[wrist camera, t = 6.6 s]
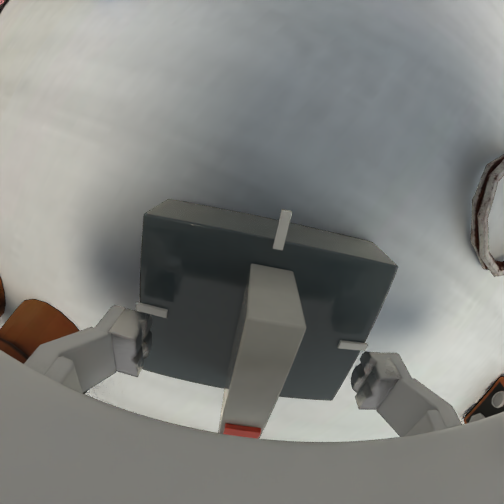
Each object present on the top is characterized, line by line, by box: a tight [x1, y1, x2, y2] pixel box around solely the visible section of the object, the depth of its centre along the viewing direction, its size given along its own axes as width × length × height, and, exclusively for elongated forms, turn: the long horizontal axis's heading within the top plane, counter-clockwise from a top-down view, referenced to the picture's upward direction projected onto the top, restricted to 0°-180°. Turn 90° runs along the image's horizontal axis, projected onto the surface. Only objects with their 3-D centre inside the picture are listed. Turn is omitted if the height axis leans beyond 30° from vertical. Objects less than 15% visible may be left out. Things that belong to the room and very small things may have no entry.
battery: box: [464, 377, 504, 424], centre depth 17 cm, size 4×7×10 cm
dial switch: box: [136, 199, 398, 400], centre depth 13 cm, size 10×10×3 cm
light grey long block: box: [218, 264, 306, 439], centre depth 9 cm, size 6×2×4 cm, turn 169°
